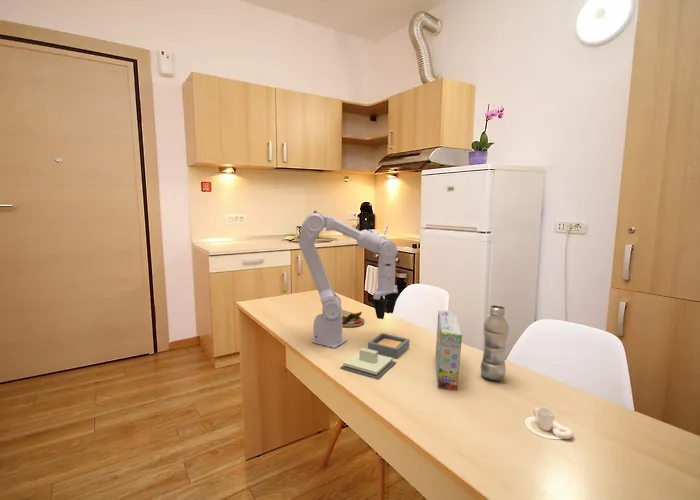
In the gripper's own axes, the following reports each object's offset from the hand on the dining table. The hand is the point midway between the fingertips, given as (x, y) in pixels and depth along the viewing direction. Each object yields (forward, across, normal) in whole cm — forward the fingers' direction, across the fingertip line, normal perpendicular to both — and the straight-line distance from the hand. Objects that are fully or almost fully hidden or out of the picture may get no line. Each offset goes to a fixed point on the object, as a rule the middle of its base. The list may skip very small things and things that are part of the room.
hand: (385, 315), depth 121 cm
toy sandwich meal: (+10, +10, +21) cm, 26 cm away
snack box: (+10, -10, -24) cm, 28 cm away
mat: (+9, -19, -4) cm, 22 cm away
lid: (+9, -19, -4) cm, 21 cm away
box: (+9, -5, -4) cm, 11 cm away
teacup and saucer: (+10, -28, -50) cm, 58 cm away
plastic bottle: (+10, -7, -36) cm, 38 cm away
